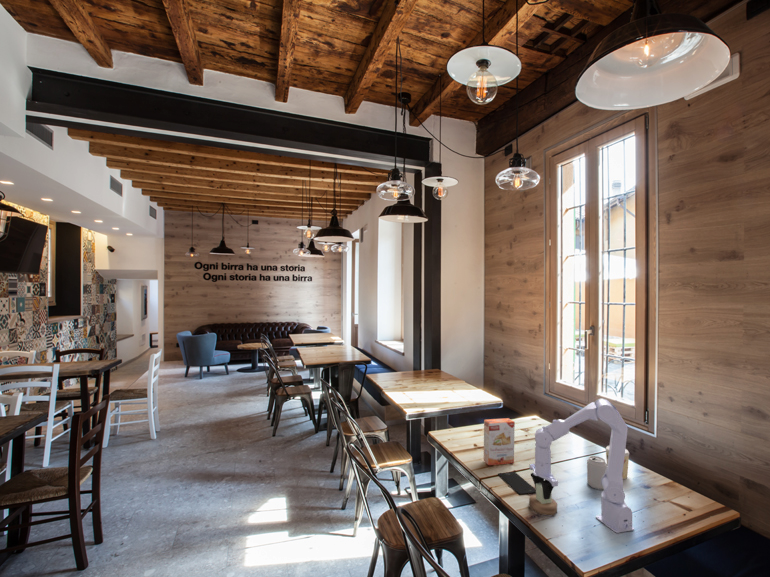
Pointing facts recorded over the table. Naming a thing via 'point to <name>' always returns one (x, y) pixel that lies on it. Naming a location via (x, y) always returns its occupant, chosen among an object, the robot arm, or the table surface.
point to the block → (541, 494)
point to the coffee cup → (626, 459)
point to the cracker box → (499, 441)
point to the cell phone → (517, 483)
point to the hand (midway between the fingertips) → (542, 495)
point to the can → (595, 471)
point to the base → (543, 506)
